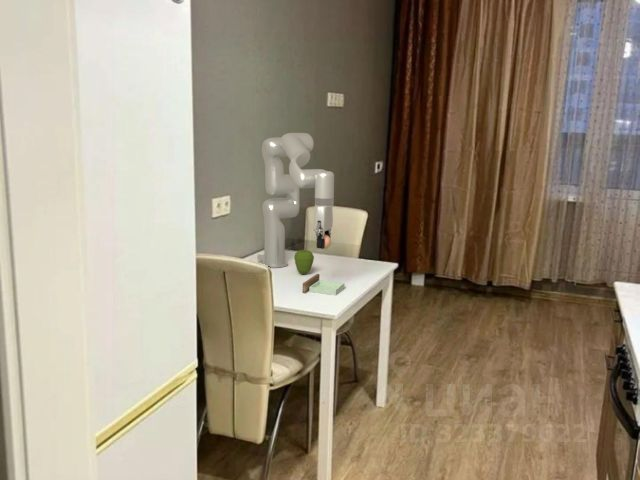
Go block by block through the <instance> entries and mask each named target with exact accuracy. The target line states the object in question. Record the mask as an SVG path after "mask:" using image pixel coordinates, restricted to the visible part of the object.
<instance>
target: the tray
mask: <svg viewBox="0 0 640 480" xmlns="http://www.w3.org/2000/svg"><path fill="white" fill-rule="evenodd" d="M345 287H346V286H345V283H344V282H338V281H329V280H321V279H319V281H317V282H316V283H314V284H313V285H312V286H310V287H309V291H308V292H309V293H314V294H322V295H329V296H331V295H332V296H337V295H338V294H339V293H341V291H343V290H344V289H345Z"/></svg>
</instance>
